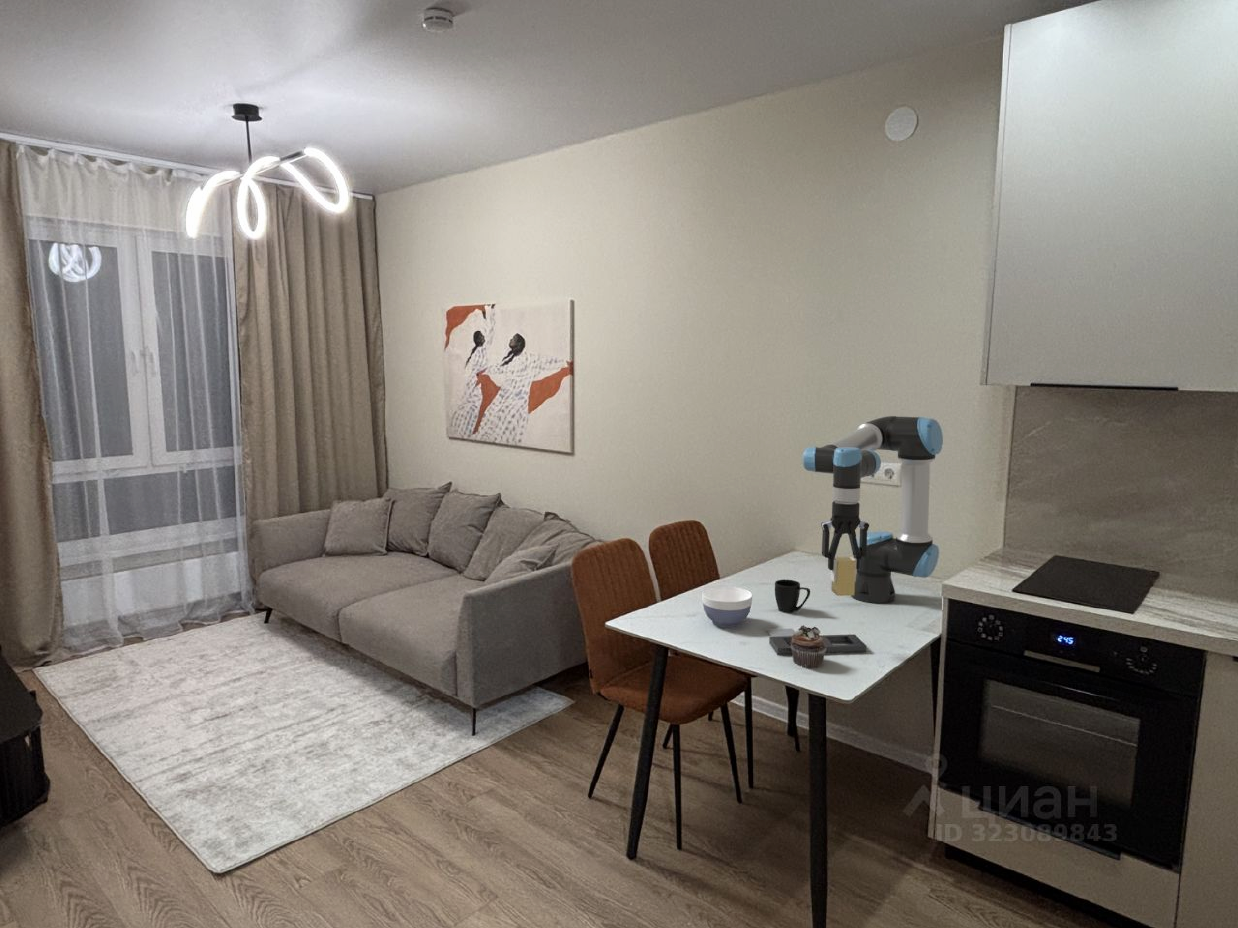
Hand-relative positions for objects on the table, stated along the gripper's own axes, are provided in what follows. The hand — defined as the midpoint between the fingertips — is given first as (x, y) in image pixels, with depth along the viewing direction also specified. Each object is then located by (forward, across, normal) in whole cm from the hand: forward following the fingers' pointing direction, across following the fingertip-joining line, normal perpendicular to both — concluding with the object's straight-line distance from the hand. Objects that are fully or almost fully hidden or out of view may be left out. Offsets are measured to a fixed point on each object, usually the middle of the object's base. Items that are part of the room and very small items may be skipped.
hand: (843, 580), depth 218 cm
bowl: (+20, +29, -23) cm, 42 cm away
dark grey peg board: (+20, +7, 0) cm, 21 cm away
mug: (+21, +5, -32) cm, 38 cm away
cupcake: (+20, +13, +10) cm, 26 cm away
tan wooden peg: (+4, 0, 0) cm, 4 cm away
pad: (+20, +14, -10) cm, 27 cm away
